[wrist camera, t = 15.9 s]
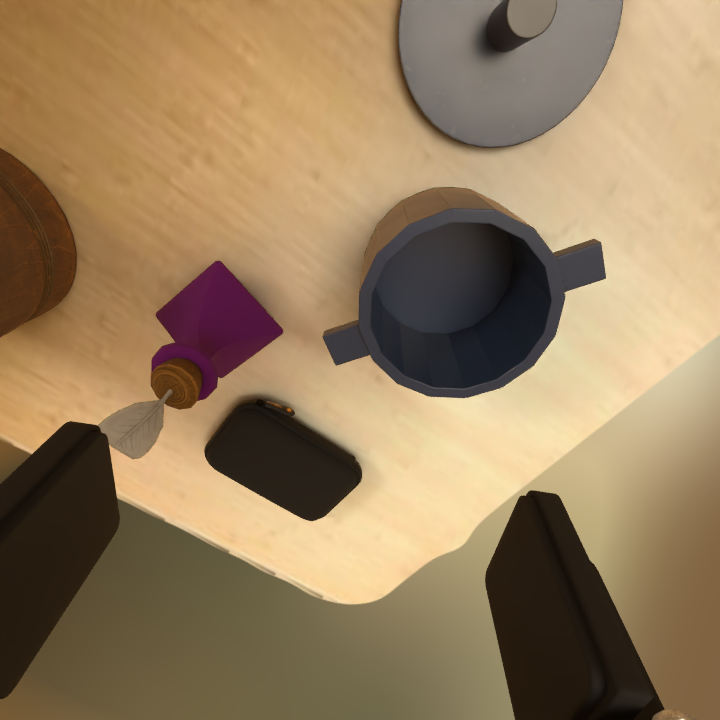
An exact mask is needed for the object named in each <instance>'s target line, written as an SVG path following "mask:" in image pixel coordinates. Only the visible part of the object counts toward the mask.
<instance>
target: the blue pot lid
mask: <svg viewBox="0 0 720 720" xmlns="http://www.w3.org/2000/svg"><path fill="white" fill-rule="evenodd" d="M622 5H623V0H402V1H401V6H400V13H399V23H398V46H399V55H400V62H401V66H402V71H403V75H404V78H405V81H406V83H407V86H408V89H409V91H410V93H411V95H412V97H413V99H414V101H415V103H416V104H417V106H418V107H419V109H420V110H421V112H422V113H423V114H424V115H425V116H426V118H427V119H428V120H429V121H430V122H431V123H432V124H433V125H434V126H435V127H437V128H438V129H439V130H440V131H441V132H443V133H445V134H446V135H448V136H450V137H451V138H453V139H455V140H458V141H460V142H463V143H465V144H469V145H473V146H477V147H487V148H496V147H507V146H512V145H517V144H520V143H523V142H526V141H529V140H531V139H534V138H536V137H538V136H540V135H542V134H544V133H545V132H547V131H548V130H550V129H552V128H553V127H555V126H556V125H557V124H559V123H560V122H561V121H562V120H564V119H565V118H566V117H567V116H568V115H569V114H570V113H571V112H572V111H573V110H574V109H575V108H576V107H578V106H579V104H580V103H581V102H582V101H583V99H584V98H585V97H586V96H587V95H588V93H589V92H590V90H591V89H592V87H593V86H594V84H595V83H596V81H597V80H598V78H599V77H600V75H601V73H602V71H603V69H604V67H605V65H606V63H607V61H608V59H609V56H610V54H611V51H612V49H613V46H614V43H615V40H616V36H617V33H618V29H619V24H620V19H621V14H622Z"/></svg>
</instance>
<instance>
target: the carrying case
mask: <svg viewBox="0 0 720 720" xmlns="http://www.w3.org/2000/svg"><path fill="white" fill-rule="evenodd" d="M294 414H295V412H294V410H293V409H291V408H289V407H286V406H283V405H279V404H276V403H274V402H271V401H269V400H267V401H263V400H259V399H258V400H248V401H244V402H242V403H240V404H238V405H237V406H236V407H235V408H234V409H233V411H232V412H231V413H230V414H229V416H228V417H227V418H226V420H225V421H224V422H223V423H222V425H221V426H220V427H219V429H218V430H217V431H216V432H215V434H214V435H213V436H212V438H211V439H210V440H209V442H208V443H207V444H206V446H205V457H206V459H207V461H208V463H209V464H210V465H211V466H212V467H213V468H214V469H215V470H217V471H218V472H220V473H222V474H224V475H225V476H227V477H229V478H231V479H232V480H234V481H236V482H238V483H239V484H241V485H243V486H245V487H246V488H248V489H250V490H252V491H253V492H255V493H257V494H259V495H260V496H262V497H264V498H266V499H268V500H269V501H271V502H273V503H275V504H277V505H279V506H280V507H282V508H284V509H286V510H288V511H289V512H291V513H293V514H295V515H297V516H299V517H300V518H303V519H305V520H309V521H314V520H317V519H320V518H322V517H324V516H326V515H327V514H328V513H329V512H330V511H331V510H332V509H333V508H334V507H335V506H336V505H337V504H338V503H339V502H340V501H342V500H343V499H344V498H345V497H346V496H347V495H348V494H349V493H350V492H351V491H352V490H353V489H354V488H355V487H356V486H357V485H358V484H359V483H360V481H361V479H362V469H361V467H360V465H359V463H358V462H357V461H356V460H355V457H354V456H351V455H350V454H348V453H346V452H345V451H343V450H342V449H340V448H338V447H337V446H335V445H334V444H332V443H331V442H329V441H327V440H326V439H324V438H323V437H321V436H320V435H318V434H316V433H315V432H313V431H312V430H310V429H309V428H307V427H305V426H304V425H302V424H301V423H299V422H298V421H296V420H294V419H293V418H291V417H290V416H294Z"/></svg>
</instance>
